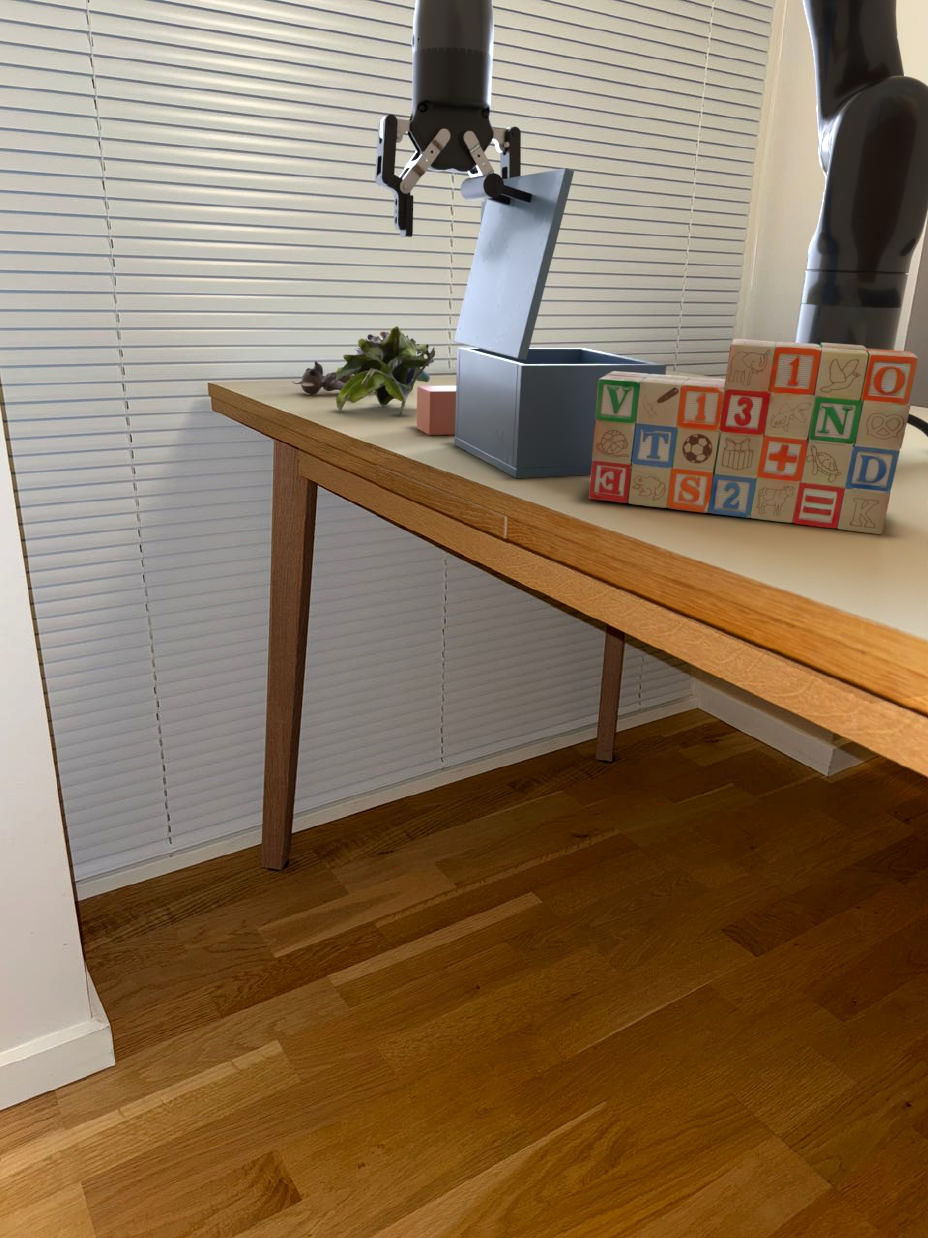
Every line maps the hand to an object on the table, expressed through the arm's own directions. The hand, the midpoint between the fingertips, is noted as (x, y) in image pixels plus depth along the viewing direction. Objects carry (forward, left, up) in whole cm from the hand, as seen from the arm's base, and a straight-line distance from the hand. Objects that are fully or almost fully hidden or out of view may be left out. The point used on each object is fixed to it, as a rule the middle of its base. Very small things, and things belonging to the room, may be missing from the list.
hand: (447, 239), depth 93 cm
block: (0, 0, -19) cm, 19 cm away
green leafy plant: (+2, -14, -19) cm, 24 cm away
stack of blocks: (-11, +37, -19) cm, 43 cm away
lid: (-1, +16, -2) cm, 16 cm away
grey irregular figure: (+3, -30, -19) cm, 36 cm away
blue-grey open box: (-5, +16, -19) cm, 25 cm away
